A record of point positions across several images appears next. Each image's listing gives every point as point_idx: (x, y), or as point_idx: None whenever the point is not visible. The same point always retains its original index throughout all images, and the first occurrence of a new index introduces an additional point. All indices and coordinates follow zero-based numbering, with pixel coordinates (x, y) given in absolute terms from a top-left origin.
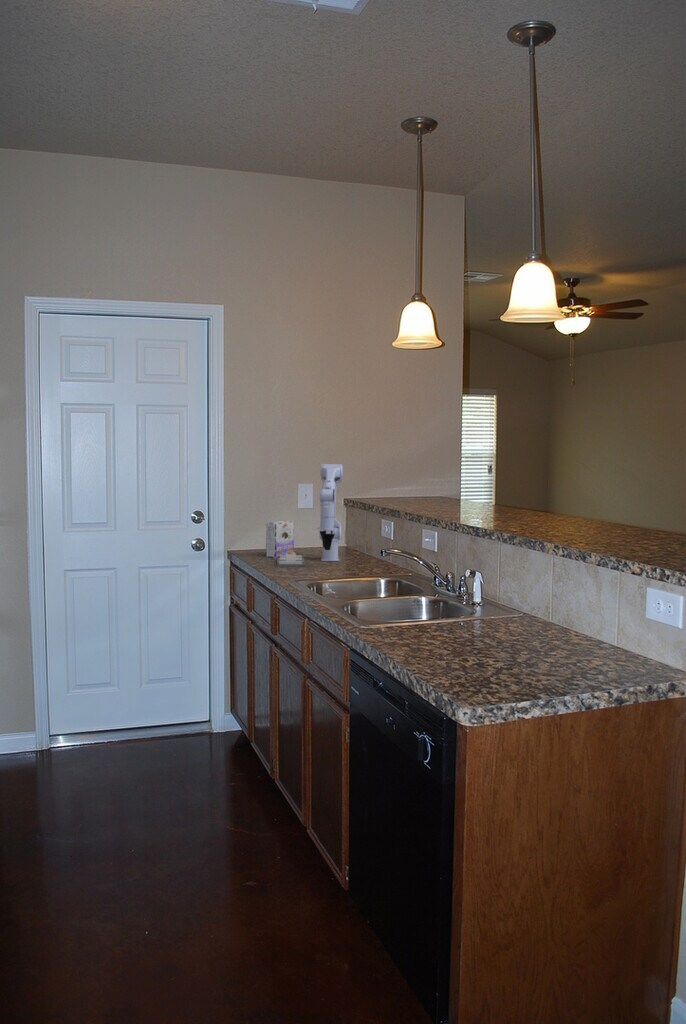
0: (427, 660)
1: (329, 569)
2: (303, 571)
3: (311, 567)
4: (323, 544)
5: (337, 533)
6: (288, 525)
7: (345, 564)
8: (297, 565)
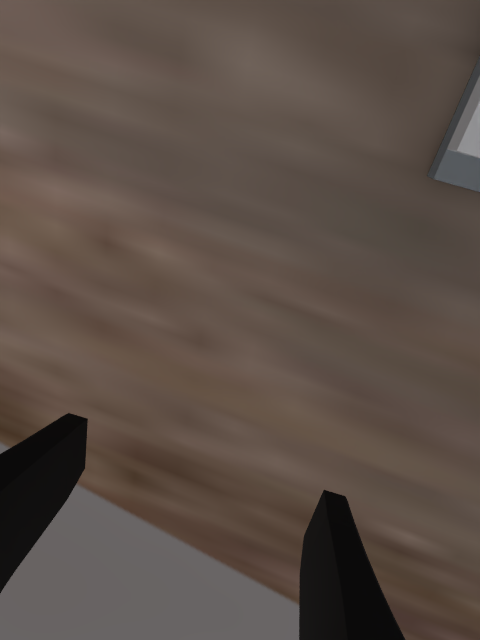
0: None
1: (195, 350)
2: (111, 63)
3: (343, 233)
4: (327, 530)
5: None
6: None
7: (403, 540)
8: (471, 80)
